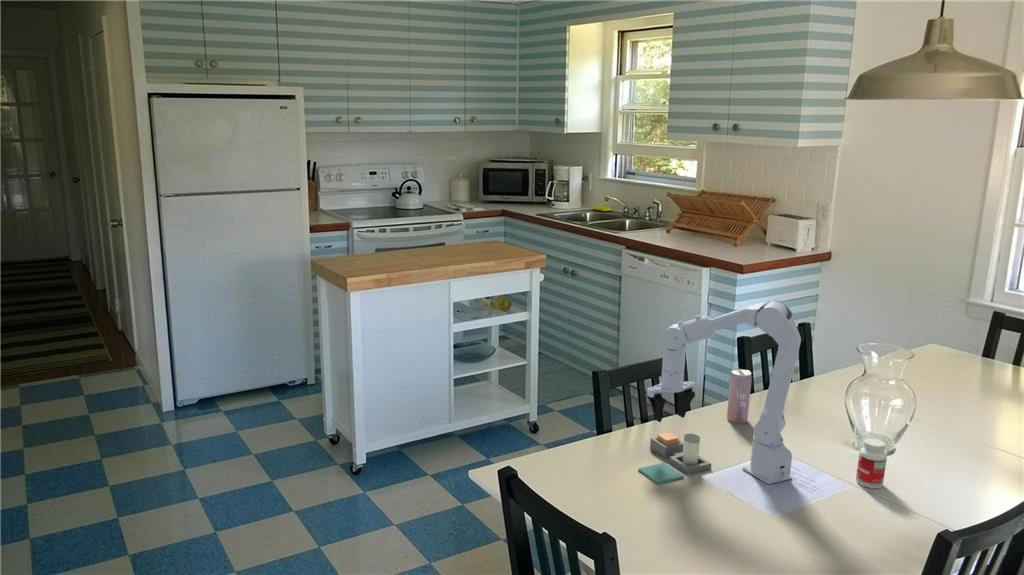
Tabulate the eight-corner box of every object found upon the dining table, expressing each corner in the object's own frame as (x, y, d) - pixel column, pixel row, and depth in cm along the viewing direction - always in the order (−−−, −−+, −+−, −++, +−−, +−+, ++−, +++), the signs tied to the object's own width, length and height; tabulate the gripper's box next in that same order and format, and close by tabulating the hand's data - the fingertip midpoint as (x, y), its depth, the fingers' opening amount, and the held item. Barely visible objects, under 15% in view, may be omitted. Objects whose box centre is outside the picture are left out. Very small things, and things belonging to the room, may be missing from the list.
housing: (710, 469, 198) (711, 458, 197) (687, 474, 194) (688, 463, 194) (670, 444, 212) (671, 433, 211) (648, 448, 209) (649, 438, 208)
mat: (683, 478, 192) (683, 475, 192) (657, 484, 189) (657, 481, 189) (663, 464, 199) (664, 462, 199) (638, 470, 196) (638, 468, 196)
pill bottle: (850, 478, 195) (856, 437, 192) (873, 477, 195) (879, 436, 193) (864, 489, 189) (869, 447, 186) (887, 489, 189) (893, 447, 187)
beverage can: (745, 416, 233) (749, 369, 230) (749, 424, 227) (753, 375, 224) (725, 415, 233) (729, 368, 230) (728, 423, 228) (732, 374, 224)
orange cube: (677, 451, 207) (678, 437, 206) (665, 454, 205) (666, 440, 204) (668, 446, 210) (669, 432, 209) (656, 448, 208) (657, 434, 208)
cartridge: (701, 467, 198) (703, 438, 197) (688, 470, 197) (690, 441, 195) (690, 461, 202) (693, 432, 200) (678, 463, 200) (680, 435, 198)
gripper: (685, 362, 209) (681, 409, 212) (641, 368, 203) (638, 417, 206) (702, 369, 203) (698, 418, 206) (657, 376, 197) (654, 426, 200)
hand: (669, 418), depth 205 cm, fingers open, 7 cm apart
